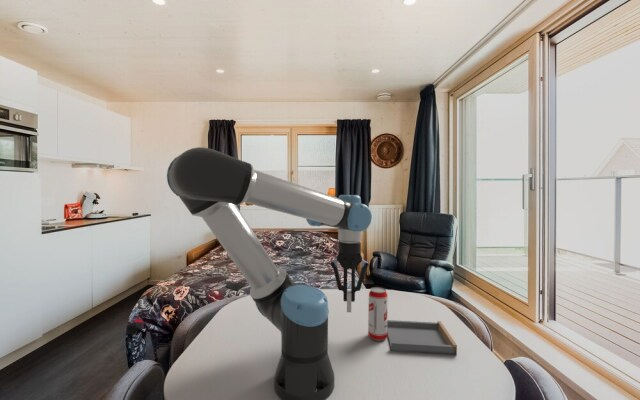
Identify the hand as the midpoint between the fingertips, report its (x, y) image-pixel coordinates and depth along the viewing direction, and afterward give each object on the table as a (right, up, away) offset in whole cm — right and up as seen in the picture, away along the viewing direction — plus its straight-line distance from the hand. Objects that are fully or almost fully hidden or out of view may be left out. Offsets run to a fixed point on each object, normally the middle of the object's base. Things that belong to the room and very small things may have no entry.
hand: (349, 310), depth 97 cm
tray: (+22, -9, -2) cm, 24 cm away
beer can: (+10, -9, -1) cm, 13 cm away
